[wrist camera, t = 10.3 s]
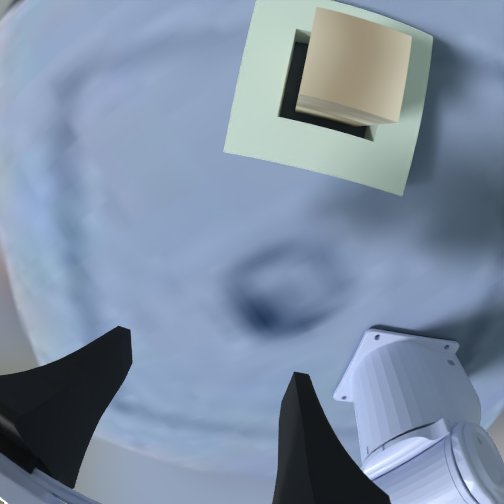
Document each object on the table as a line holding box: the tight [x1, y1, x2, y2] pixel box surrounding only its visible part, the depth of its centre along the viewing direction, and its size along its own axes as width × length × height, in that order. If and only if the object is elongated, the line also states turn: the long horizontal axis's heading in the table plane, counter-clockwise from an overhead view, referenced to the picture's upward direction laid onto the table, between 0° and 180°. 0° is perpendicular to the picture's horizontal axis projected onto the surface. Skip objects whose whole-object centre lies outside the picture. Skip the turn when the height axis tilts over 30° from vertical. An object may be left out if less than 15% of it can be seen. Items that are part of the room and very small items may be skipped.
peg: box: [295, 7, 412, 127], centre depth 12 cm, size 4×4×8 cm
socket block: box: [224, 0, 433, 196], centre depth 14 cm, size 10×10×2 cm
